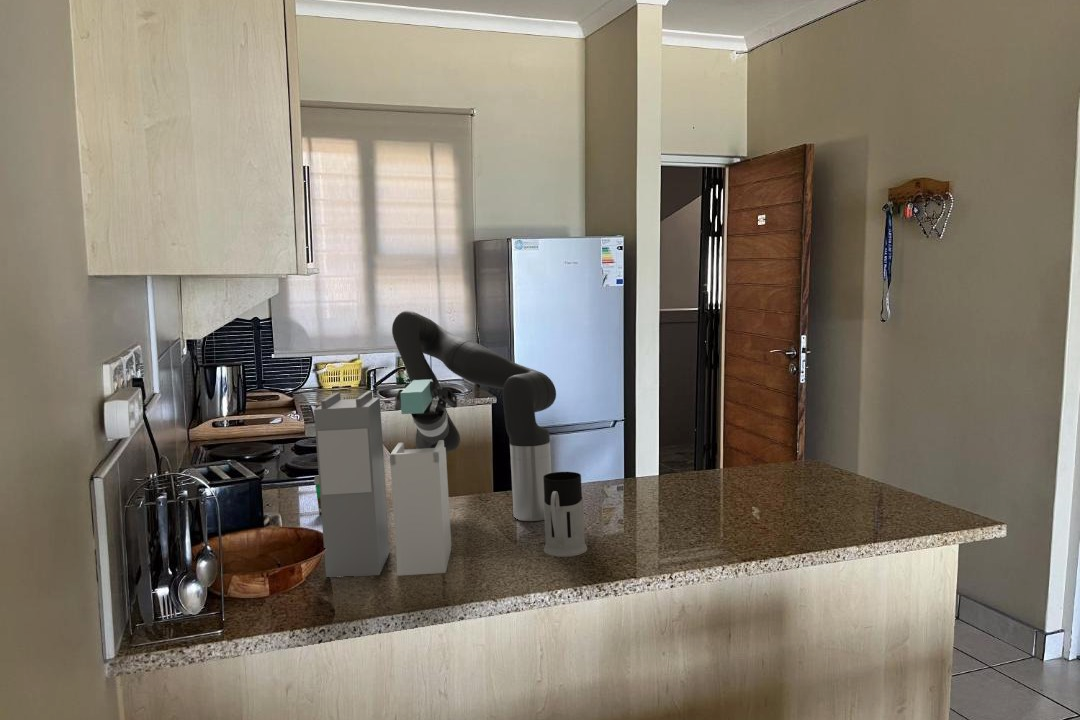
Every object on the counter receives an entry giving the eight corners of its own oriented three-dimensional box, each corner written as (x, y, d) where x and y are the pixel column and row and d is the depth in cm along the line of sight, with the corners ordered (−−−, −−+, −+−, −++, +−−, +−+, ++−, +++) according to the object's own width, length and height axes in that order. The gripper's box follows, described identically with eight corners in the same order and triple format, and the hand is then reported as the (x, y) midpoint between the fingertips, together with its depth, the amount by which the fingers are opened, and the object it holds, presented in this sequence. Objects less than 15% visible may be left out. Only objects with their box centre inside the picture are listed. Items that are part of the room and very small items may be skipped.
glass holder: (590, 543, 165) (587, 471, 164) (578, 566, 151) (574, 488, 150) (548, 542, 167) (545, 470, 166) (532, 565, 153) (528, 487, 152)
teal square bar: (433, 398, 171) (432, 379, 170) (423, 413, 151) (421, 391, 151) (414, 399, 171) (413, 380, 170) (401, 414, 151) (400, 392, 150)
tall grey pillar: (389, 552, 165) (379, 390, 162) (379, 575, 152) (367, 398, 149) (340, 555, 165) (329, 392, 162) (325, 578, 152) (313, 401, 149)
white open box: (451, 547, 167) (445, 437, 165) (445, 572, 152) (438, 451, 150) (407, 550, 166) (400, 440, 164) (397, 575, 151) (389, 454, 149)
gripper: (398, 401, 182) (385, 370, 166) (461, 398, 182) (455, 367, 167) (397, 432, 179) (384, 404, 163) (461, 429, 179) (455, 401, 164)
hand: (420, 385), depth 165 cm, fingers closed on teal square bar, 4 cm apart
